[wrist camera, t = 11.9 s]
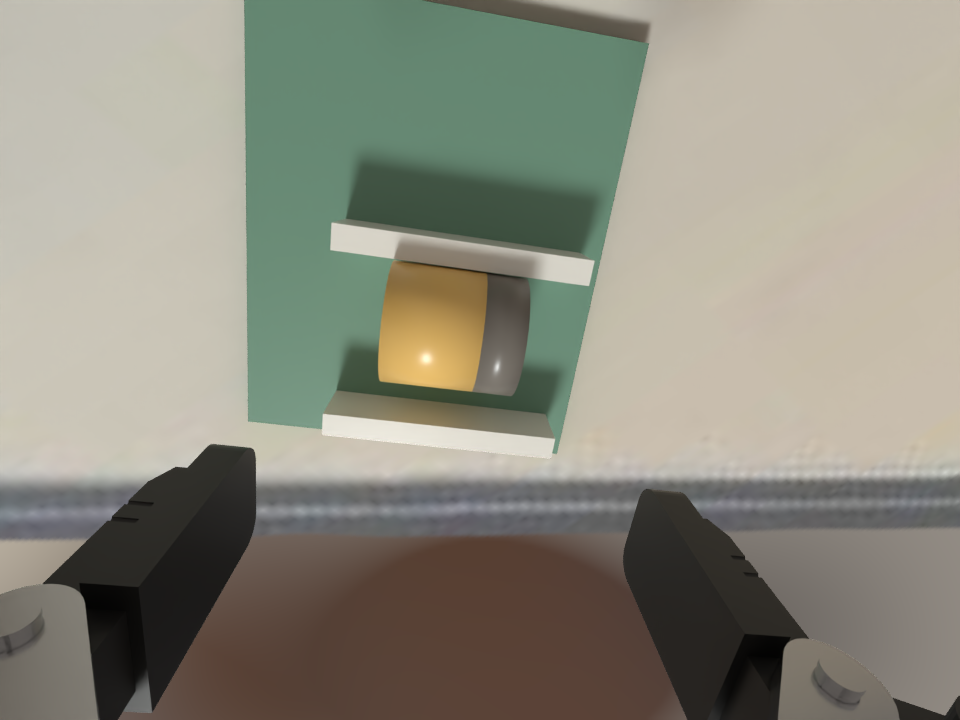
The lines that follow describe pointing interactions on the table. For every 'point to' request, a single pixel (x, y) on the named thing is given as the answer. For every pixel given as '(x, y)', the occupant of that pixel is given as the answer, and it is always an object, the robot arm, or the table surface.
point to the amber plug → (453, 329)
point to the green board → (418, 180)
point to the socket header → (440, 419)
